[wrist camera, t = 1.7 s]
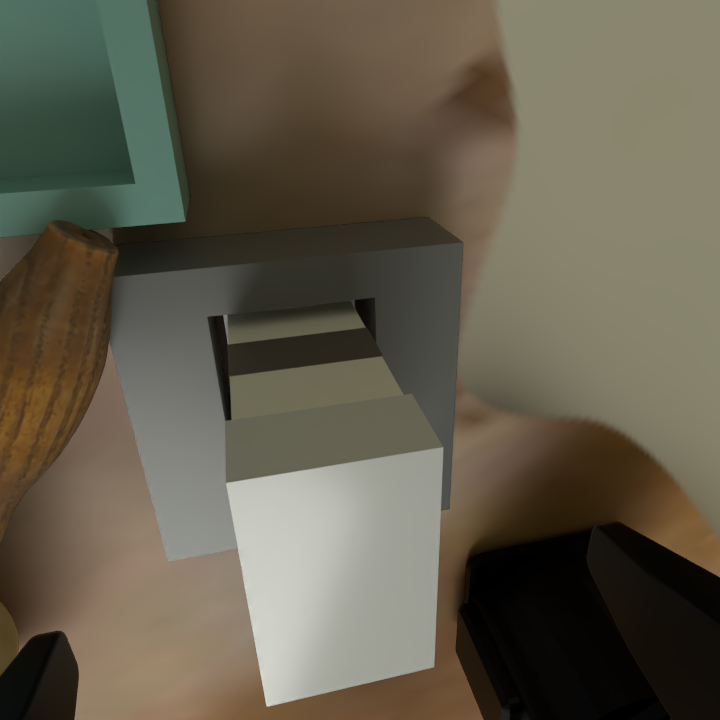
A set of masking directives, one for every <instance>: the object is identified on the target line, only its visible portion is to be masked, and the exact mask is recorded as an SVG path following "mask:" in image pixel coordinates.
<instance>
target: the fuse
mask: <svg viewBox="0 0 720 720" xmlns="http://www.w3.org/2000/svg"><path fill="white" fill-rule="evenodd" d="M223 318H224V324H225V330H226V337H227V343H228V372H229V381H230V393H231V418H232V420H229V421H225V458H226V486H227V491H228V497H229V502H230V508H231V513H232V519H233V524H234V530H235V535H236V541H237V546H238V552H239V557H240V563H241V568H242V574H243V579H244V585H245V590H246V596H247V601H248V607H249V612H250V618H251V623H252V629H253V634H254V639H255V645H256V650H257V656H258V661H259V667H260V672H261V678H262V683H263V689H264V694H265V700H266V705H267V707H268V706H272V705H276V704H281V703H285V702H289V701H293V700H298V699H302V698H306V697H310V696H314V695H319V694H323V693H327V692H331V691H336V690H340V689H344V688H348V687H353V686H357V685H361V684H365V683H369V682H374V681H378V680H382V679H386V678H391V677H395V676H399V675H403V674H408V673H412V672H416V671H420V670H424V669H429V668H433V667H434V657H435V634H436V610H437V587H438V564H439V540H440V517H441V494H442V470H443V445H442V444H441V442H440V440H439V439H438V437H437V435H436V434H435V432H434V430H433V429H432V427H431V425H430V424H429V422H428V420H427V418H426V417H425V415H424V413H423V412H422V410H421V408H420V407H419V405H418V403H417V402H416V400H415V398H414V396H413V395H412V394H407V395H404V394H403V393H402V391H401V389H400V387H399V386H398V384H397V382H396V380H395V379H394V377H393V375H392V373H391V371H390V370H389V368H388V366H387V364H386V363H385V361H384V359H383V355H382V353H381V351H380V349H379V348H378V346H377V344H376V342H375V341H374V339H373V337H372V335H371V334H370V332H369V330H368V328H366V327H365V325H364V324H363V322H362V320H361V318H360V317H359V315H358V313H357V311H356V310H355V300H350V301H341V302H332V303H323V304H315V305H306V306H297V307H288V308H280V309H271V310H262V311H253V312H245V313H236V314H227V315H223Z"/></svg>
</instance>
